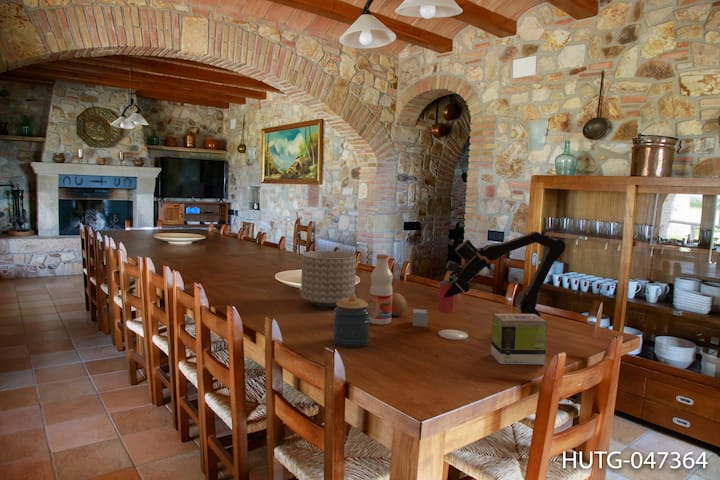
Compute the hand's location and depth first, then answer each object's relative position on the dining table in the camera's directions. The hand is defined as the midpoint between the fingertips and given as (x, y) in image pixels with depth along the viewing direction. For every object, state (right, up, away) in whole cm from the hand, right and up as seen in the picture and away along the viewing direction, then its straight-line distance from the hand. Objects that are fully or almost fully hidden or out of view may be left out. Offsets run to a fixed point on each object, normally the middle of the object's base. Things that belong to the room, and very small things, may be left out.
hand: (443, 295), depth 190 cm
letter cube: (-9, -13, +4) cm, 16 cm away
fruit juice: (-25, -12, +6) cm, 29 cm away
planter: (-49, -8, +31) cm, 59 cm away
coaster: (+2, -14, -9) cm, 17 cm away
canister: (-37, -15, -22) cm, 46 cm away
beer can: (+1, -7, +1) cm, 7 cm away
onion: (-18, -11, +17) cm, 27 cm away
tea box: (+18, -18, -34) cm, 42 cm away
